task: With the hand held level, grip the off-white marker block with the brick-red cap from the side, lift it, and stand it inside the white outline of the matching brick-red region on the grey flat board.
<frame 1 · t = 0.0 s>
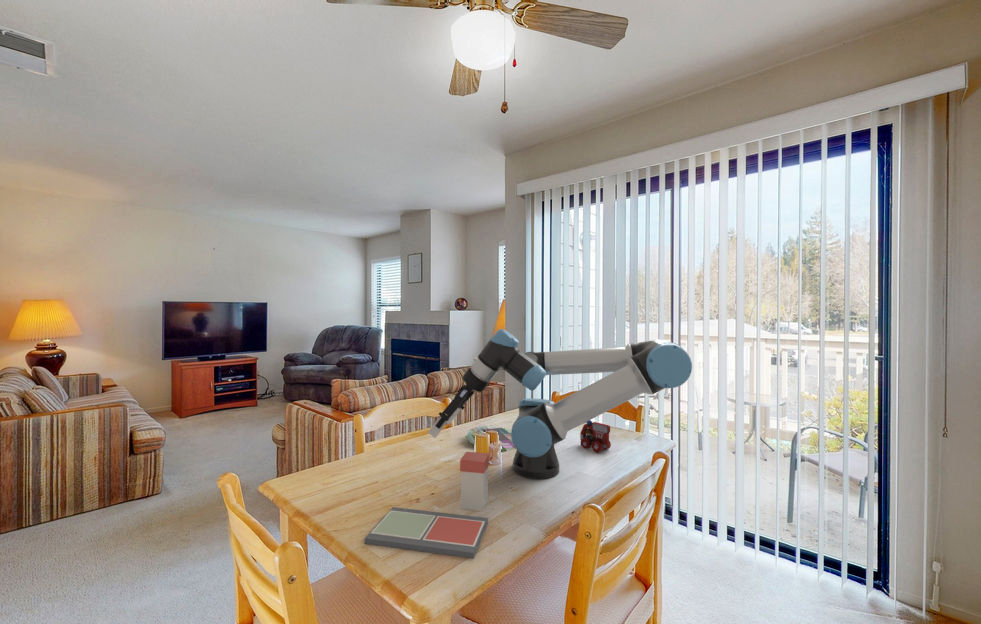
hand: (438, 428, 131), 15 cm above the table, tool tilted 35°, fingers open, 13 cm apart
marker block: (474, 504, 114), on the table
toy fire truck: (594, 449, 160), on the table
grey flat board: (429, 532, 100), on the table
city model: (494, 443, 166), on the table
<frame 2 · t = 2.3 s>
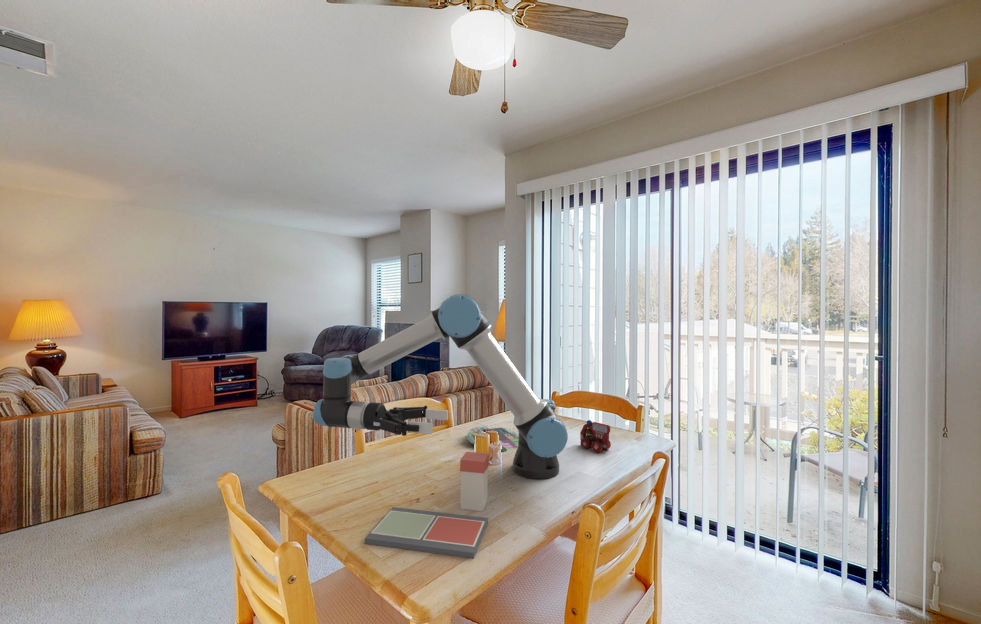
hand: (440, 421, 115), 22 cm above the table, tool horizontal, fingers open, 13 cm apart
nothing on the table moved.
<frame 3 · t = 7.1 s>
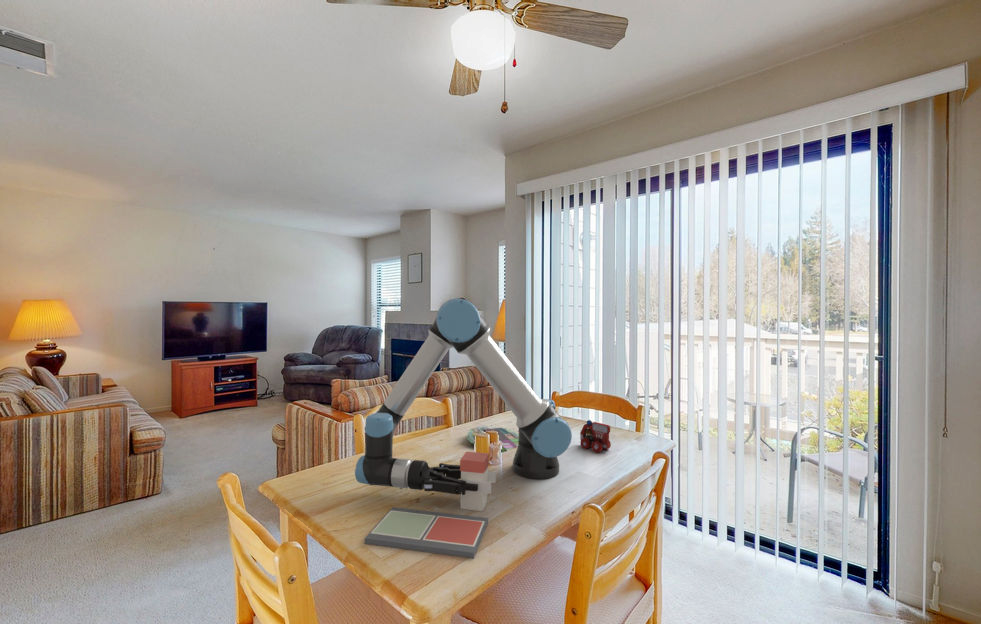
hand: (493, 482, 113), 7 cm above the table, tool horizontal, fingers closed on marker block, 6 cm apart
marker block: (474, 504, 114), on the table, touching gripper
everything else where it was.
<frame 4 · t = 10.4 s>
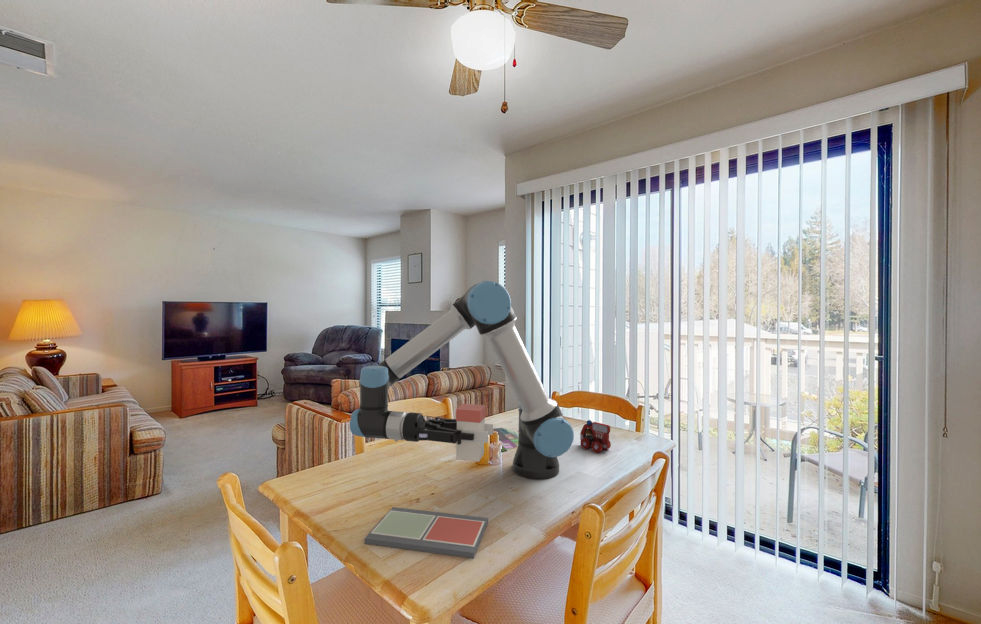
hand: (489, 433, 111), 20 cm above the table, tool horizontal, fingers closed on marker block, 6 cm apart
marker block: (470, 456, 112), point 14 cm above the table, touching gripper
everything else where it was.
when the fingers open (9 cm above the table, at t = 13.7 s): marker block drops 2 cm, resting on grey flat board.
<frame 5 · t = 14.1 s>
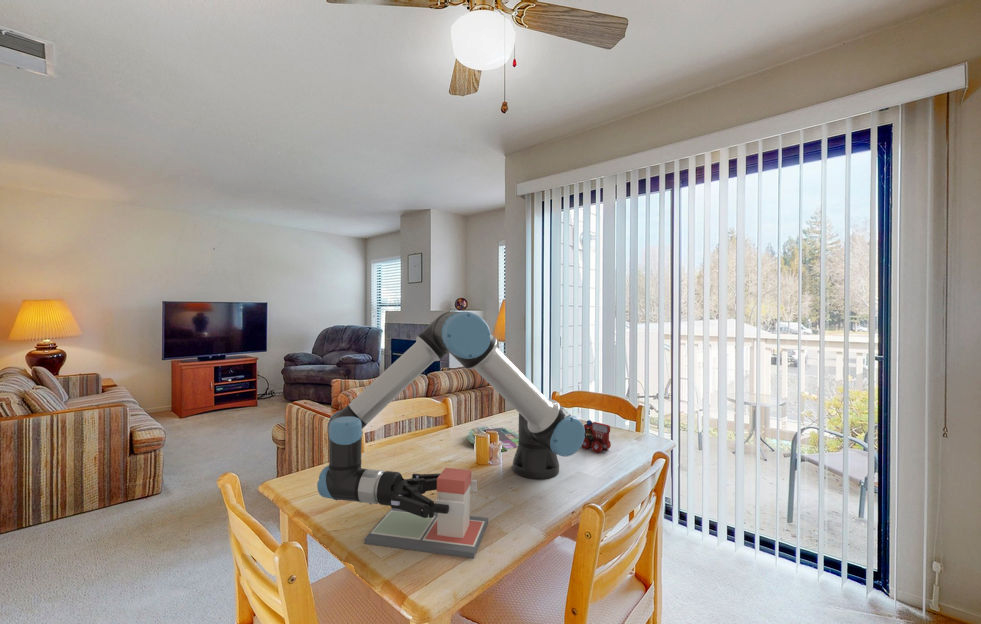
hand: (471, 496, 97), 10 cm above the table, tool horizontal, fingers open, 11 cm apart
marker block: (453, 529, 98), point 1 cm above the table, touching grey flat board
everything else where it was.
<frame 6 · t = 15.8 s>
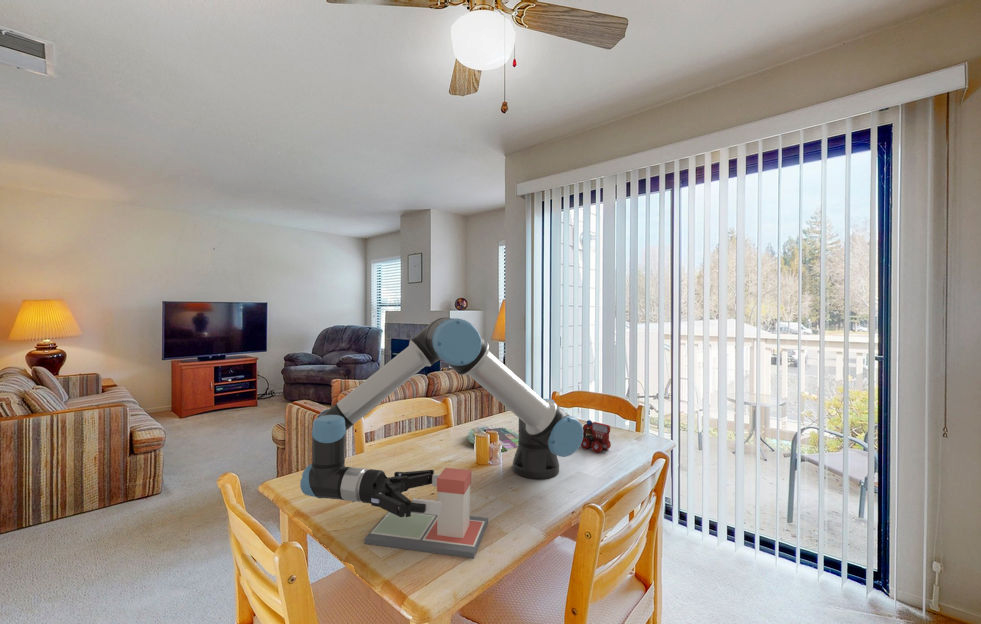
hand: (450, 494, 98), 10 cm above the table, tool horizontal, fingers open, 13 cm apart
nothing on the table moved.
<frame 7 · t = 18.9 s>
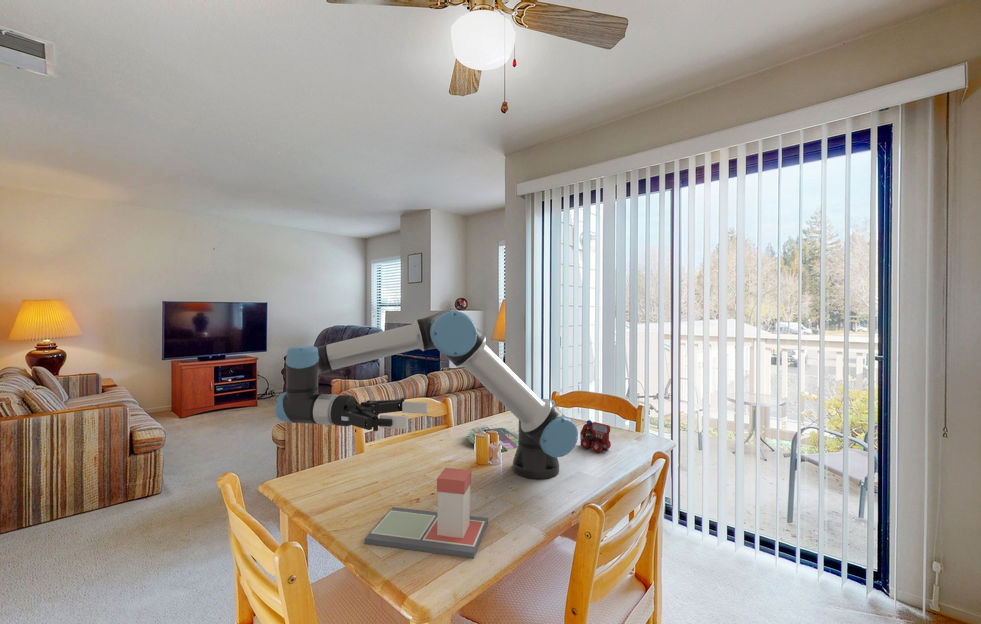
hand: (417, 415, 103), 27 cm above the table, tool horizontal, fingers open, 13 cm apart
nothing on the table moved.
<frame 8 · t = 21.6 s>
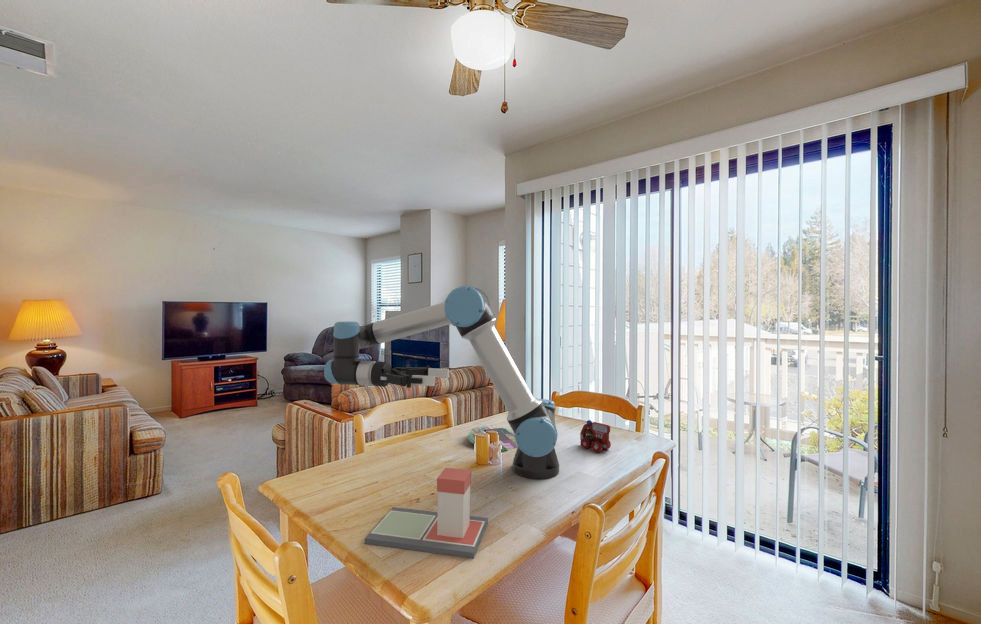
hand: (441, 377, 126), 32 cm above the table, tool horizontal, fingers open, 13 cm apart
nothing on the table moved.
at the end: marker block inside the target area on the grey flat board (0.3 cm from its centre), point 1.4 cm above the grey flat board's base; marker block tilted 0°; the gripper is holding nothing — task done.
